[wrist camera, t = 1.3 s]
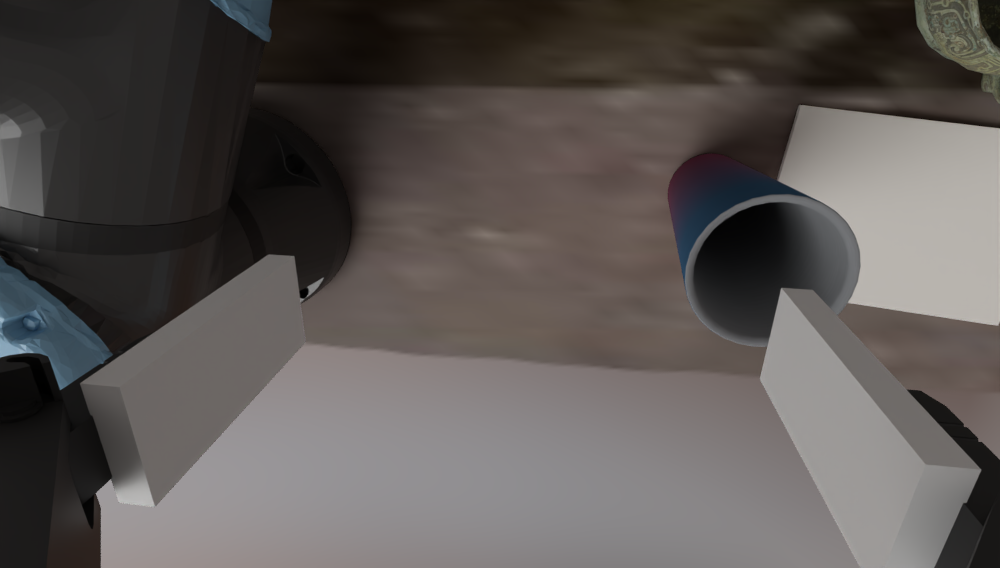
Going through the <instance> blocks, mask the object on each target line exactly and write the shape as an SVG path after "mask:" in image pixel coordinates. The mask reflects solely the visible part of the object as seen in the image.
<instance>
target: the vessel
mask: <svg viewBox="0 0 1000 568" xmlns="http://www.w3.org/2000/svg"><path fill="white" fill-rule="evenodd" d="M915 11H916V22H917V27H918V28H919V30H920V32H921V34H922V35H923V37H924V39H925V41H926V42H927V44H928V46H930V47H931V48H932V49H934V50H935V51H937V52H938V53H939V54H941V55H942V56H944V57H945V58H947V59H950V60H953V61H956V62H957V63H959V64H960V65H962V66H963V67H965V68H966V69H968V70H972V71H977V72H980V73H983V75H982V78H981V88H982V90H983V91H984V92H991V93H993V96H994V97H995V99H996V100H997V102H998V103H999V104H1000V0H915Z"/></svg>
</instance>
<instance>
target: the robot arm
mask: <svg viewBox="0 0 1000 568" xmlns="http://www.w3.org/2000/svg"><path fill="white" fill-rule="evenodd" d="M271 4H272V0H0V568H101V566H100V565H101V564H100V563H101V556H100V555H101V553H100V552H101V549H100V548H101V546H100V545H101V542H100V541H101V508H100V505H99V501H98V499H97V496H96V492H97V491H98V490H99V489H100V488H102V486H104V485H105V484H106V483H107V482H108V481H109V480H110V479H111V480H112V483H113V486H114V489H115V492H116V495H117V498H118V502H119V503H126V504H134V505H143V506H151V507H155V506H156V505H157V504H158V503H159V502H160V501H161V500H162V499H163V498H164V497H165V495H166V494H167V493H168V492H169V491H170V490H171V489H172V488H173V487H174V485H175V484H176V483H177V482H178V481H179V480H180V479H181V478H182V477H183V476H184V475H185V473H186V472H187V471H188V470H189V469H190V468H191V467H192V466H193V465H194V464H195V463H196V462H197V460H198V459H199V458H200V457H201V456H202V455H203V454H204V453H205V452H206V451H207V449H208V448H209V447H210V446H211V445H212V444H213V443H214V442H215V441H216V440H217V439H218V437H219V436H220V435H221V434H222V433H223V432H224V431H225V430H226V429H227V428H228V426H229V425H230V424H231V423H232V422H233V421H234V420H235V419H236V418H237V416H239V414H240V413H241V412H242V411H243V410H244V409H245V408H246V407H247V406H248V405H249V404H250V402H251V401H252V400H253V399H254V398H255V397H256V396H257V395H258V394H259V393H260V391H261V390H262V389H263V388H264V387H265V386H266V385H267V384H268V383H269V382H270V380H271V379H272V378H273V377H274V376H275V375H276V374H277V373H278V372H279V371H280V370H281V369H282V367H283V366H284V365H285V364H286V363H287V362H288V361H289V360H290V359H291V358H292V356H293V355H294V354H295V353H296V352H297V351H298V350H299V349H300V348H301V347H302V346H303V344H304V343H305V342H306V339H305V331H304V324H303V316H302V309H301V303H303V302H305V301H307V300H308V299H310V298H311V297H312V296H314V295H315V294H316V293H317V292H318V291H320V290H321V289H322V288H323V287H324V286H325V285H327V284H328V283H329V282H330V281H331V280H332V278H333V277H334V276H335V275H336V273H337V272H338V271H339V269H340V267H341V265H342V263H343V261H344V259H345V256H346V254H347V250H348V247H349V242H350V234H351V217H350V209H349V204H348V200H347V196H346V193H345V190H344V187H343V185H342V182H341V180H340V178H339V176H338V174H337V172H336V170H335V168H334V167H333V165H332V164H331V162H330V160H329V159H328V158H327V156H326V155H325V154H324V152H323V151H322V150H321V149H320V148H319V146H318V145H317V144H316V143H315V142H314V141H313V140H312V139H311V138H310V137H308V136H307V135H306V134H305V133H304V132H302V131H301V130H300V129H299V128H297V127H296V126H294V125H293V124H291V123H289V122H288V121H286V120H284V119H282V118H280V117H278V116H276V115H274V114H271V113H268V112H265V111H262V110H258V109H253V108H250V105H251V101H252V97H253V93H254V88H255V84H256V80H257V76H258V72H259V67H260V63H261V59H262V55H263V51H264V46H265V42H266V41H267V42H269V41H270V38H271V29H270V28H269V26H268V25H269V18H270V11H271ZM760 381H761V382H762V384H763V386H764V388H765V390H766V392H767V394H768V396H769V398H770V399H771V401H772V403H773V405H774V407H775V409H776V411H777V413H778V414H779V416H780V418H781V420H782V422H783V424H784V426H785V428H786V430H787V431H788V433H789V435H790V437H791V439H792V441H793V443H794V444H795V446H796V448H797V450H798V452H799V454H800V456H801V458H802V459H803V461H804V463H805V465H806V467H807V469H808V471H809V472H810V475H811V476H812V478H813V480H814V482H815V484H816V486H817V488H818V490H819V492H820V493H821V495H822V497H823V499H824V501H825V503H826V505H827V507H828V508H829V510H830V512H831V514H832V516H833V518H834V520H835V522H836V524H837V525H838V527H839V529H840V531H841V533H842V535H843V537H844V539H845V541H846V542H847V544H848V546H849V548H850V550H851V552H852V553H853V556H854V557H855V559H856V561H857V563H858V565H859V567H860V568H1000V460H999V459H998V458H997V457H996V456H995V455H994V454H993V453H992V452H991V451H990V450H989V449H988V448H987V447H986V446H985V445H984V444H983V443H982V442H978V438H977V437H976V436H975V435H974V434H973V433H972V432H971V431H970V430H969V429H968V428H967V427H964V426H963V425H964V424H963V423H962V422H961V421H960V420H959V419H958V418H957V417H956V416H955V415H954V414H953V413H952V412H951V411H950V410H949V409H948V408H947V407H946V406H945V405H943V404H941V403H940V402H938V401H936V400H935V399H933V398H932V397H930V396H928V395H927V394H925V393H923V392H922V391H918V390H906V389H905V388H904V387H903V386H902V384H901V383H900V382H899V381H898V380H897V379H896V378H895V377H894V376H893V375H892V374H891V373H890V372H889V371H888V370H887V368H886V367H885V366H884V365H883V364H882V363H881V362H880V361H879V360H878V359H877V358H876V357H875V356H874V355H873V354H872V352H871V351H870V350H869V349H868V348H867V347H866V346H865V345H864V344H863V343H862V342H861V341H860V340H859V339H858V338H857V336H856V335H855V334H854V333H853V332H852V331H851V330H850V329H849V328H848V327H847V326H846V325H845V324H844V323H843V321H842V320H841V319H840V318H839V317H838V316H837V315H836V314H835V313H834V312H833V311H832V310H831V309H830V308H829V307H828V305H827V304H826V303H825V302H824V301H823V300H822V299H821V298H820V297H819V296H818V295H817V294H816V293H815V292H814V291H813V290H807V289H792V288H781V292H780V296H779V300H778V304H777V309H776V313H775V317H774V321H773V326H772V330H771V334H770V338H769V343H768V347H767V351H766V355H765V360H764V364H763V368H762V372H761V377H760Z"/></svg>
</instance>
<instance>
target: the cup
mask: <svg viewBox="0 0 1000 568" xmlns="http://www.w3.org/2000/svg"><path fill="white" fill-rule="evenodd" d="M668 202H669V207H670V212H671V217H672V222H673V228H674V233H675V238H676V243H677V248H678V253H679V258H680V263H681V268H682V274H683V279H684V284H685V289H686V294H687V298H688V300H689V302H690V305H691V307H692V309H693V311H694V312H695V314H696V315H697V317H698V318H699V319H700V321H701V322H702V323H703V324H705V325H706V326H707V327H708V328H709V329H710V330H711V331H713V332H714V333H716V334H718V335H719V336H721V337H723V338H725V339H727V340H730V341H733V342H735V343H738V344H743V345H749V346H759V347H768V343H769V338H770V334H771V330H772V326H773V321H774V317H775V313H776V309H777V304H778V300H779V296H780V292H781V288H792V289H807V290H813V291H814V292H815V293H816V294H817V295H818V296H819V297H820V298H821V299H822V300H823V301H824V302H825V303H826V304H827V305H828V307H829V308H830V309H831V310H832V311H833V312H834V313H835V314H836V315H838V314H839V313H840V312H841V311H842V310H843V309H844V307H845V306H846V304H847V303H848V301H849V300H850V298H851V297H852V295H853V292H854V290H855V287H856V285H857V283H858V278H859V273H860V267H861V264H860V250H859V246H858V243H857V240H856V237H855V235H854V233H853V231H852V230H851V228H850V226H849V225H848V223H847V222H846V221H845V220H844V219H843V218H842V217H841V216H840V215H839V214H838V213H837V212H836V211H835V210H833V209H832V208H830V207H829V206H827V205H825V204H824V203H822V202H820V201H818V200H816V199H814V198H812V197H810V196H808V195H806V194H804V193H802V192H800V191H797V190H795V189H793V188H791V187H789V186H787V185H785V184H783V183H781V182H779V181H777V180H775V179H773V178H771V177H769V176H766V175H764V174H762V173H760V172H758V171H756V170H754V169H752V168H750V167H748V166H746V165H744V164H742V163H740V162H738V161H735V160H733V159H731V158H729V157H727V156H724V155H720V154H703V155H699V156H696V157H694V158H691V159H690V160H688V161H687V162H685V163H684V164H682V165H681V166H680V167H679V168H678V169H677V171H676V172H675V174H674V175H673V177H672V179H671V181H670V184H669V188H668Z"/></svg>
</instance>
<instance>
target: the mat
mask: <svg viewBox="0 0 1000 568" xmlns="http://www.w3.org/2000/svg"><path fill="white" fill-rule="evenodd" d="M776 180H777V181H779V182H781V183H783V184H785V185H787V186H789V187H791V188H793V189H795V190H797V191H800V192H802V193H804V194H806V195H808V196H810V197H812V198H814V199H816V200H818V201H820V202H822V203H824V204H825V205H827V206H829V207H830V208H832V209H833V210H835V211H836V212H837V213H838V214H839V215H840V216H841V217H842V218H843V219H844V220H845V221H846V222H847V223H848V225H849V226H850V228H851V230H852V231H853V233H854V235H855V237H856V240H857V243H858V246H859V250H860V264H861V267H860V273H859V278H858V283H857V285H856V287H855V290H854V292H853V295H852V297H851V298H850V300H849V301H848V303H853V304H859V305H866V306H872V307H879V308H886V309H892V310H899V311H905V312H912V313H918V314H925V315H931V316H938V317H944V318H951V319H957V320H964V321H970V322H977V323H984V324H990V325H997V326H998V324H999V322H1000V128H992V127H984V126H976V125H967V124H959V123H950V122H942V121H933V120H925V119H916V118H908V117H900V116H891V115H883V114H874V113H866V112H857V111H849V110H840V109H832V108H823V107H815V106H807V105H799V106H798V109H797V113H796V116H795V119H794V123H793V126H792V129H791V133H790V136H789V139H788V143H787V146H786V149H785V153H784V156H783V159H782V163H781V166H780V169H779V173H778V176H777V179H776Z"/></svg>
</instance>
